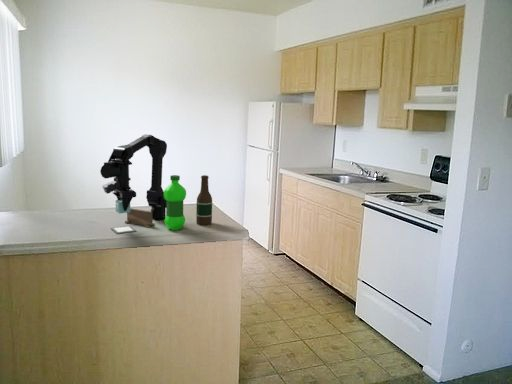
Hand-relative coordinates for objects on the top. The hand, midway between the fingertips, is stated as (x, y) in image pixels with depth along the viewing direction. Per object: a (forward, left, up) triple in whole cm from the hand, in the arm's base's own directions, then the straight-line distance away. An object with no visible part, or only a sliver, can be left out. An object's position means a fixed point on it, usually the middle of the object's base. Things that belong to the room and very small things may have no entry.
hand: (123, 209), depth 201 cm
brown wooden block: (-10, -6, -10) cm, 15 cm away
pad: (0, 0, -10) cm, 10 cm away
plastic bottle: (-22, +8, -10) cm, 25 cm away
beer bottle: (-38, +7, -10) cm, 40 cm away
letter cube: (0, 0, -1) cm, 1 cm away
